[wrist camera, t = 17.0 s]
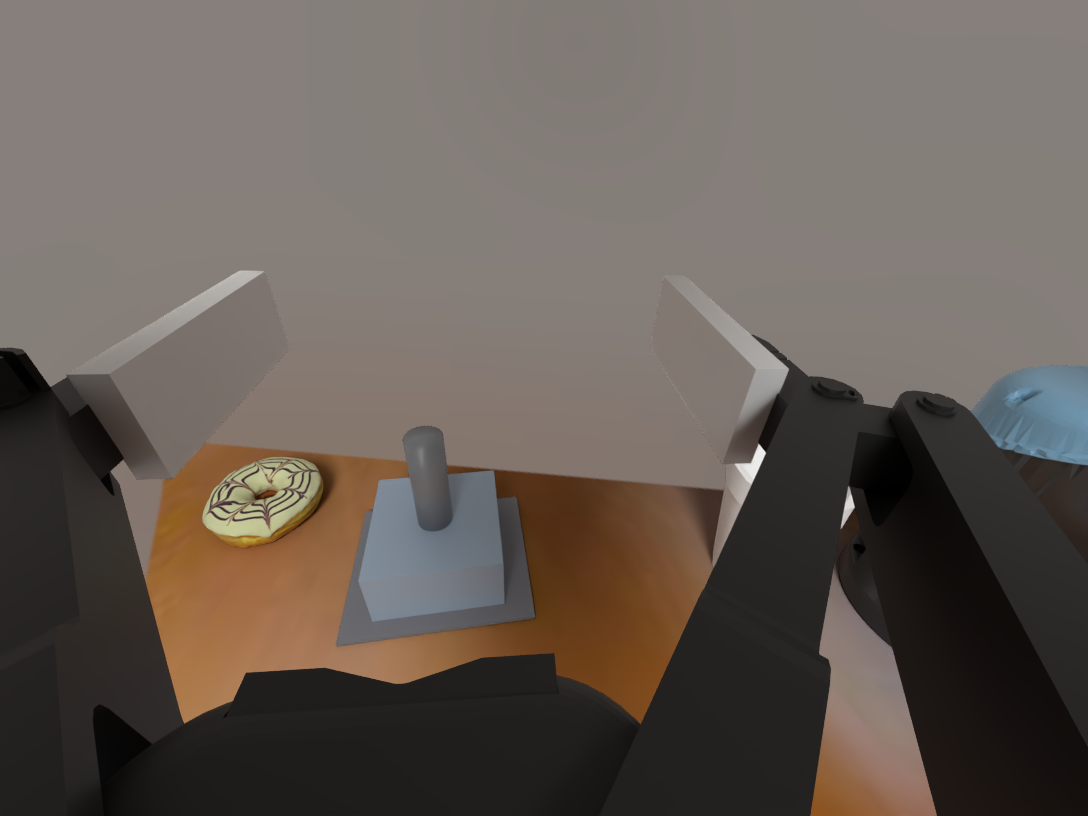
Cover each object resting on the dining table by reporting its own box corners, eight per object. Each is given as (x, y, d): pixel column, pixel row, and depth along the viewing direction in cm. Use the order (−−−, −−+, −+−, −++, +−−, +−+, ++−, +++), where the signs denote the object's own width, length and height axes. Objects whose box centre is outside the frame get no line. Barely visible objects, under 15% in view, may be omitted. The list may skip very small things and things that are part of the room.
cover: (495, 509, 46) (490, 394, 38) (504, 603, 38) (501, 481, 29) (389, 519, 45) (360, 402, 37) (372, 621, 36) (329, 496, 28)
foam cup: (699, 519, 47) (732, 423, 39) (792, 545, 44) (846, 447, 37) (693, 594, 39) (733, 492, 32) (804, 630, 37) (875, 528, 30)
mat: (516, 499, 48) (516, 496, 48) (535, 618, 37) (535, 615, 37) (366, 513, 46) (366, 511, 46) (337, 646, 34) (336, 643, 34)
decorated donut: (186, 543, 42) (168, 517, 40) (262, 470, 51) (251, 445, 49) (283, 560, 41) (270, 534, 39) (344, 482, 50) (336, 457, 48)
